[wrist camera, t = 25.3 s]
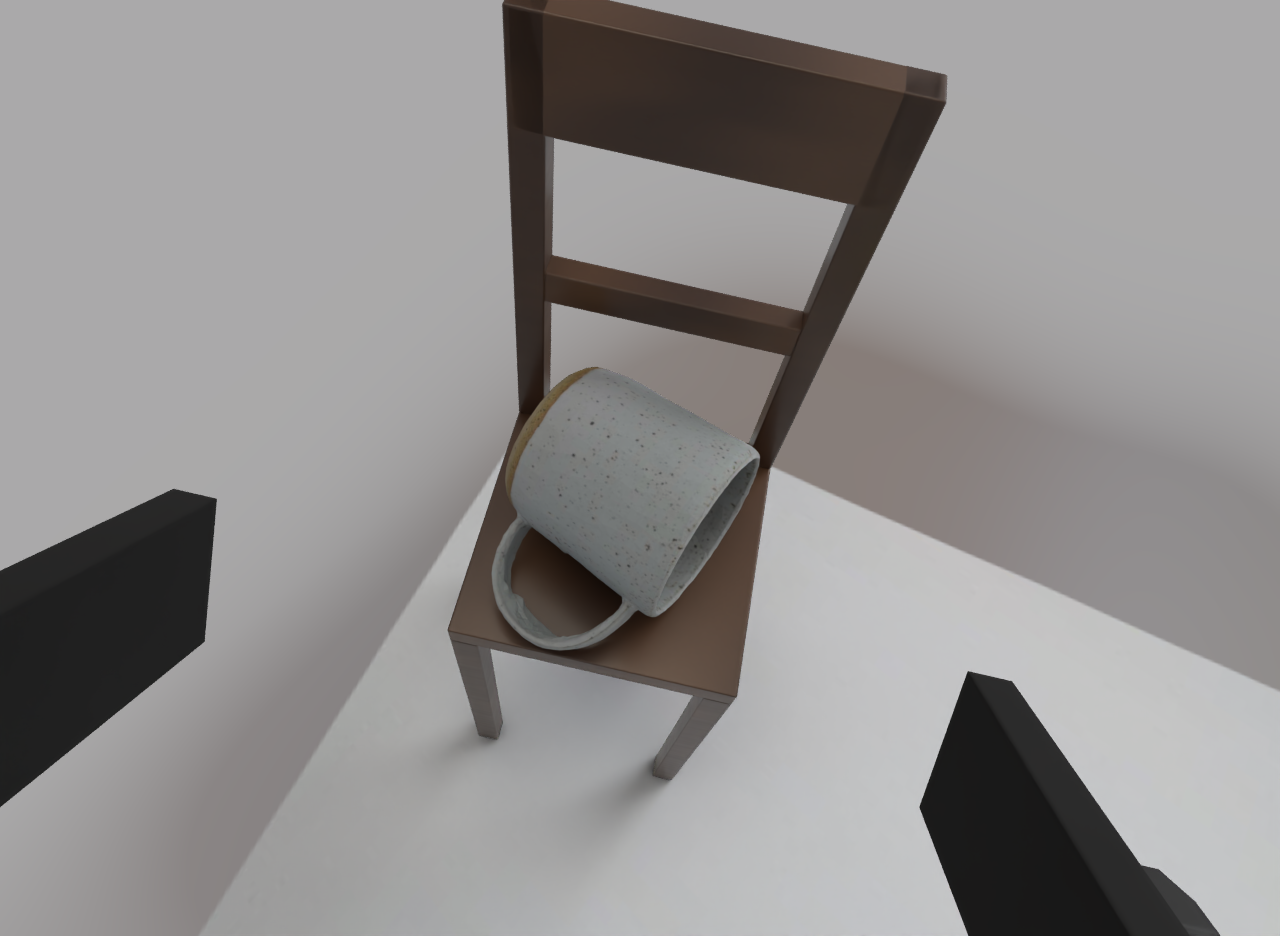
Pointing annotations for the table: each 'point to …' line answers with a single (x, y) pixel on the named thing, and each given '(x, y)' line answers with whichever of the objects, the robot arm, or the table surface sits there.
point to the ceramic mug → (619, 495)
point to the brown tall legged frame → (677, 294)
